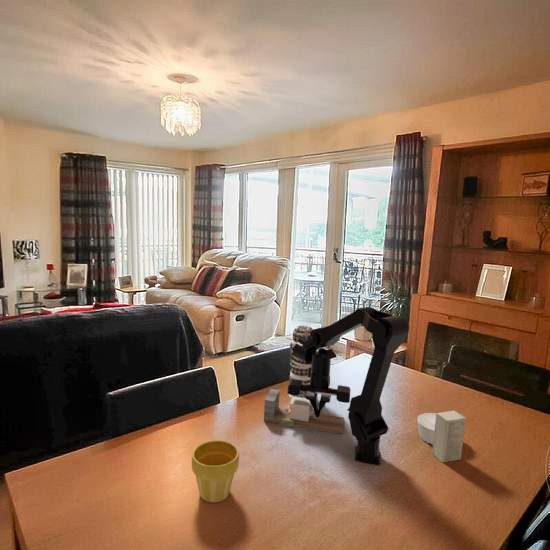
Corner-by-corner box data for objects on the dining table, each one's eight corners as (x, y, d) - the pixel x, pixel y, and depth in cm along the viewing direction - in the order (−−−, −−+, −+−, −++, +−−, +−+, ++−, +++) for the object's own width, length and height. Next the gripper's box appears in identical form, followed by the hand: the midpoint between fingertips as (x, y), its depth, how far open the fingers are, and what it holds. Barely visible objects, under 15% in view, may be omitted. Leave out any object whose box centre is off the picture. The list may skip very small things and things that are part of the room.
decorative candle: (284, 398, 133) (287, 329, 129) (290, 388, 142) (294, 322, 138) (309, 403, 130) (314, 332, 127) (315, 392, 139) (319, 325, 136)
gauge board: (342, 435, 112) (344, 412, 111) (263, 422, 117) (264, 400, 116) (343, 420, 120) (345, 399, 119) (269, 409, 125) (270, 388, 124)
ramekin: (413, 442, 110) (415, 425, 109) (418, 424, 120) (420, 408, 119) (455, 454, 105) (458, 436, 104) (457, 435, 115) (459, 418, 114)
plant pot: (216, 471, 93) (217, 433, 92) (247, 491, 87) (248, 451, 86) (181, 493, 85) (182, 452, 84) (212, 517, 79) (213, 473, 78)
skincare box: (449, 450, 107) (454, 409, 105) (461, 460, 102) (466, 417, 101) (430, 453, 105) (435, 412, 103) (442, 463, 101) (447, 420, 99)
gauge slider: (306, 426, 113) (307, 410, 112) (287, 423, 114) (287, 407, 114) (310, 413, 121) (311, 398, 120) (291, 411, 122) (292, 396, 121)
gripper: (352, 362, 121) (349, 408, 124) (294, 355, 125) (292, 400, 128) (351, 376, 111) (347, 426, 113) (288, 368, 115) (285, 416, 117)
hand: (317, 416), depth 118 cm, fingers closed
